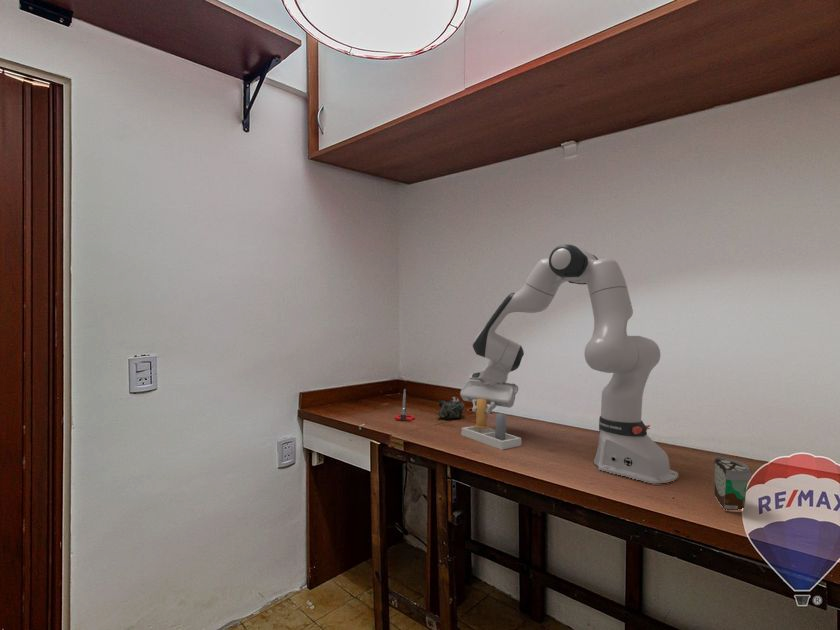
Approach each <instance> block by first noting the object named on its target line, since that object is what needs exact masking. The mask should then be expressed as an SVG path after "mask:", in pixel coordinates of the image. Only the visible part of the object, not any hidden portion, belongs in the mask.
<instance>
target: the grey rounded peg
mask: <svg viewBox="0 0 840 630" xmlns="http://www.w3.org/2000/svg"><path fill="white" fill-rule="evenodd" d="M506 428H507V414H506V413H501V412H498V413H496V414H495V438H496V439H499V440H501V441H503V440H505V436H506V433H507V429H506Z"/></svg>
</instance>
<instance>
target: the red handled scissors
mask: <svg viewBox="0 0 840 630" xmlns="http://www.w3.org/2000/svg"><path fill="white" fill-rule="evenodd" d="M406 391H407V390H406V388H404V389H403V394H402V407H401V414H396V415H394V420H395V421H401V422H412V420H415V419H416V416H415V415H412V414H407V408H406V403H407V401H406V400H407V394H406Z"/></svg>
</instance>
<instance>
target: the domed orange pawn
mask: <svg viewBox="0 0 840 630" xmlns="http://www.w3.org/2000/svg"><path fill="white" fill-rule="evenodd" d="M476 406H477V411H476V412H475V413H476V414H475V415H476V416H475V417H476V419H475V420H476V421H475V422H476V423H475V424H474V426H475V428H479V429H486V428H487V427H488V425H487V414H485V413H484V410H485V408H487V404H486V399H477V405H476Z"/></svg>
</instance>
